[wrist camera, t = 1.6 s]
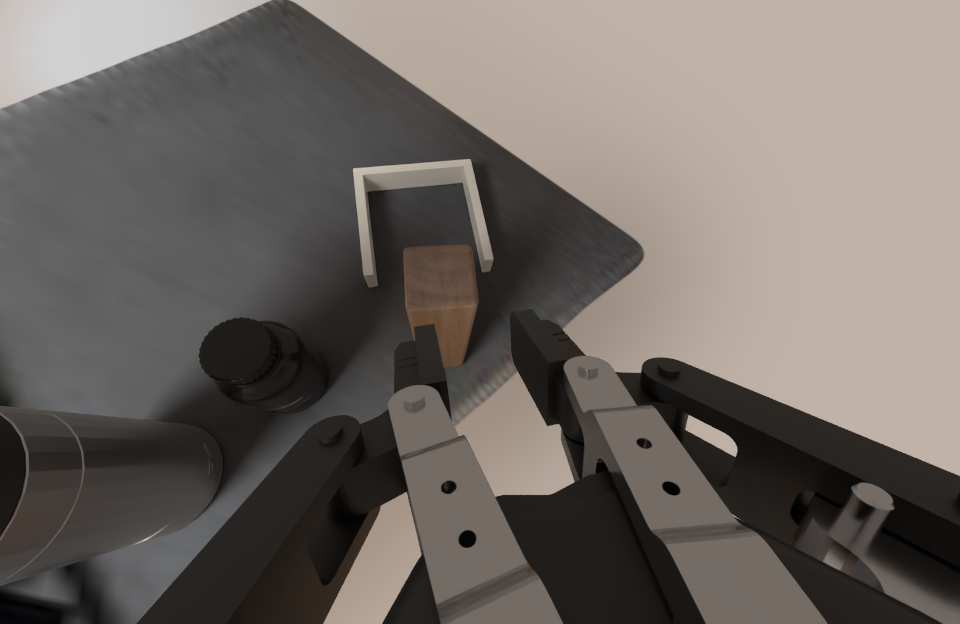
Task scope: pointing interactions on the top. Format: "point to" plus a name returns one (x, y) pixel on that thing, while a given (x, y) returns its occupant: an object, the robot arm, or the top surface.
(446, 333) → the wooden block
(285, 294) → the top surface
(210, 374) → the supplement bottle
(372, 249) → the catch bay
